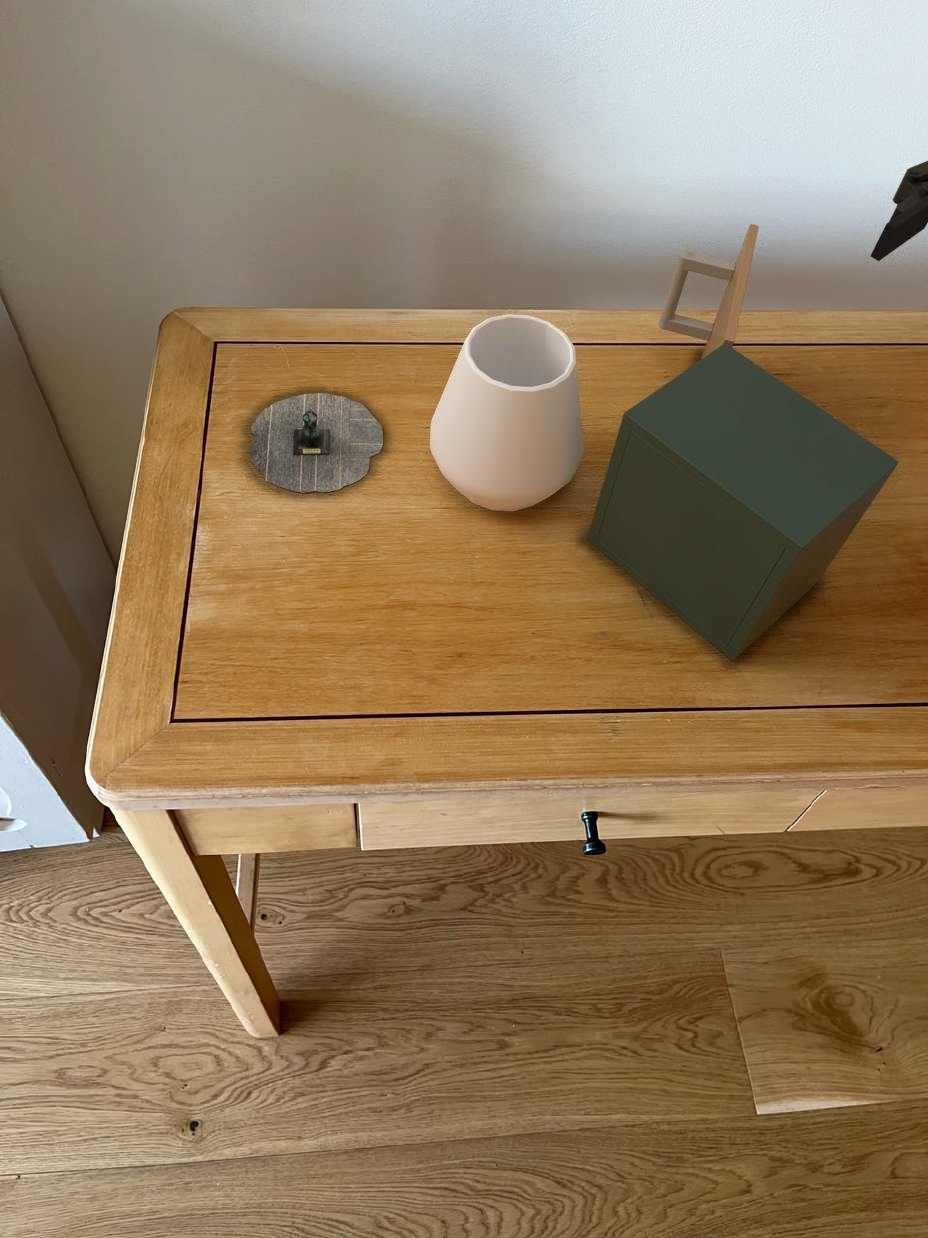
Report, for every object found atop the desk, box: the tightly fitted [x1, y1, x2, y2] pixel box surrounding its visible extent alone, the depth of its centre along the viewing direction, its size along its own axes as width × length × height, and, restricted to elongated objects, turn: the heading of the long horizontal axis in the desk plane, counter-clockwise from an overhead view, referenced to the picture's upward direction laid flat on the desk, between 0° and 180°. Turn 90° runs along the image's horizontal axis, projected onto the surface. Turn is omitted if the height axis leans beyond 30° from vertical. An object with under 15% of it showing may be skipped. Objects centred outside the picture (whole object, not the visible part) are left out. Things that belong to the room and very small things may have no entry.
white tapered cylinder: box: [429, 313, 585, 512], centre depth 77 cm, size 13×13×14 cm
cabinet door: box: [658, 223, 760, 360], centre depth 83 cm, size 6×16×15 cm, turn 163°
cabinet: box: [586, 343, 900, 662], centre depth 73 cm, size 12×16×15 cm
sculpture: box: [249, 392, 384, 494], centre depth 84 cm, size 12×9×8 cm
